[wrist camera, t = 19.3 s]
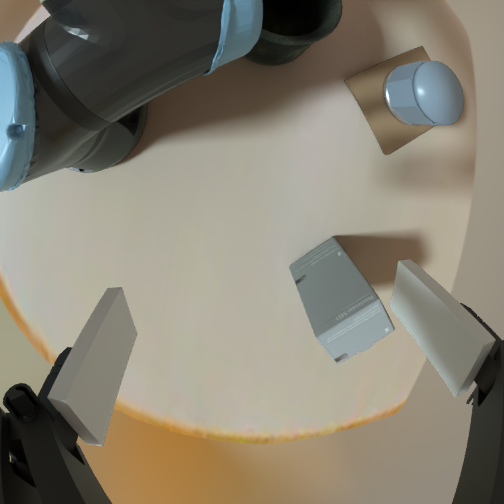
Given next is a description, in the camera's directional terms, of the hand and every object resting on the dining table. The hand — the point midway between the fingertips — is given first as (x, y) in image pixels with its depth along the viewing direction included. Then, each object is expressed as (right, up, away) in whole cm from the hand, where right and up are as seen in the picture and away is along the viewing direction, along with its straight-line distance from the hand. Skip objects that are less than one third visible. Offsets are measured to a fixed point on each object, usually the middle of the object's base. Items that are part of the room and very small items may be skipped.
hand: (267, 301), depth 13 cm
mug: (+2, +32, +15) cm, 36 cm away
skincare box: (+10, 0, +30) cm, 32 cm away
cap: (+22, +24, +18) cm, 37 cm away
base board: (+22, +25, +20) cm, 39 cm away
